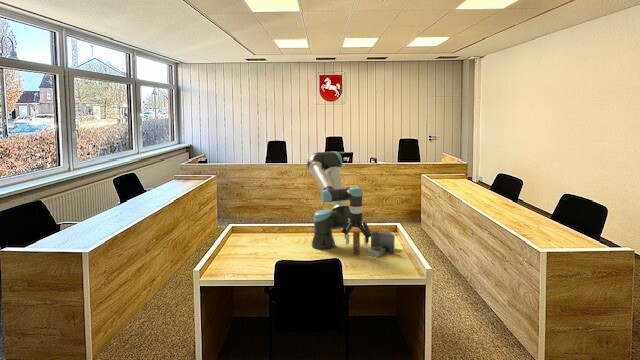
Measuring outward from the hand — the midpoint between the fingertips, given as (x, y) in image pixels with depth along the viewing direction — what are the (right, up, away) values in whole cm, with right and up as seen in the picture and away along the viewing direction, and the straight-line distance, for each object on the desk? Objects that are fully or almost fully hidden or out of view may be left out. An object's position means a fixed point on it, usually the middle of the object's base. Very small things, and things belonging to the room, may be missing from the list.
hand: (356, 245), depth 328 cm
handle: (0, -5, +1) cm, 5 cm away
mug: (+18, -3, +13) cm, 22 cm away
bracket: (+14, -5, +1) cm, 15 cm away
